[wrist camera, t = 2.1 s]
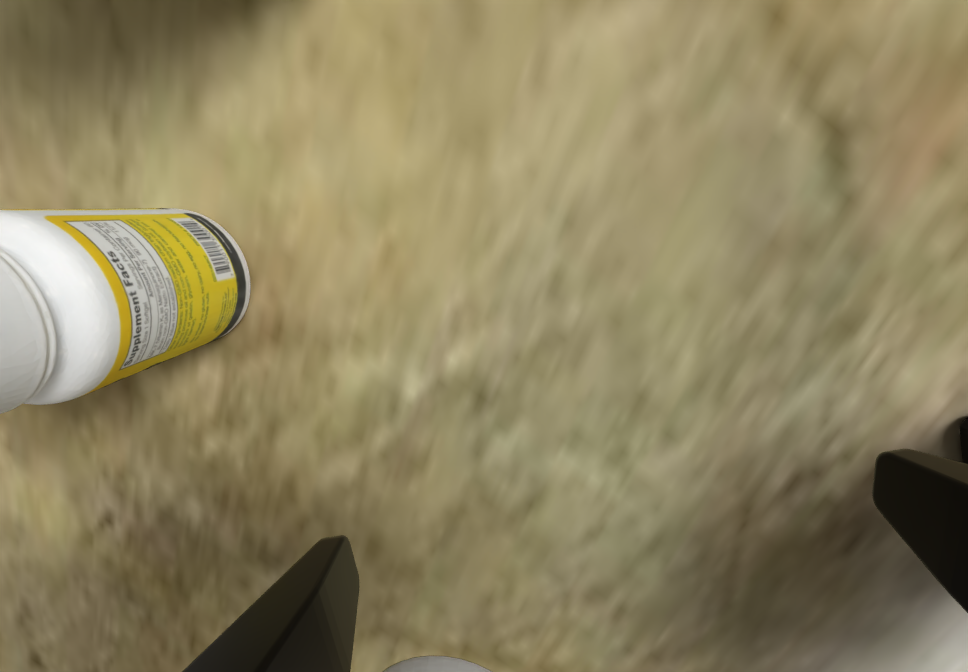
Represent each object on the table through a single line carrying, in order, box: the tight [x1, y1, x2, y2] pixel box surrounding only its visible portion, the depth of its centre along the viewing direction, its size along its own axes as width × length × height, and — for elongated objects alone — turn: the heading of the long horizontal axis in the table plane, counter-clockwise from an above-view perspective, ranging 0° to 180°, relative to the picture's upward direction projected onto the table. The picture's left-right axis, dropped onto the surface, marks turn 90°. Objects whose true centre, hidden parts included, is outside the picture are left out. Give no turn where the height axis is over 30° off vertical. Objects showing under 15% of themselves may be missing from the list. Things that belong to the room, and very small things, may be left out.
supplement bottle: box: [0, 208, 251, 414], centre depth 15 cm, size 6×6×10 cm
